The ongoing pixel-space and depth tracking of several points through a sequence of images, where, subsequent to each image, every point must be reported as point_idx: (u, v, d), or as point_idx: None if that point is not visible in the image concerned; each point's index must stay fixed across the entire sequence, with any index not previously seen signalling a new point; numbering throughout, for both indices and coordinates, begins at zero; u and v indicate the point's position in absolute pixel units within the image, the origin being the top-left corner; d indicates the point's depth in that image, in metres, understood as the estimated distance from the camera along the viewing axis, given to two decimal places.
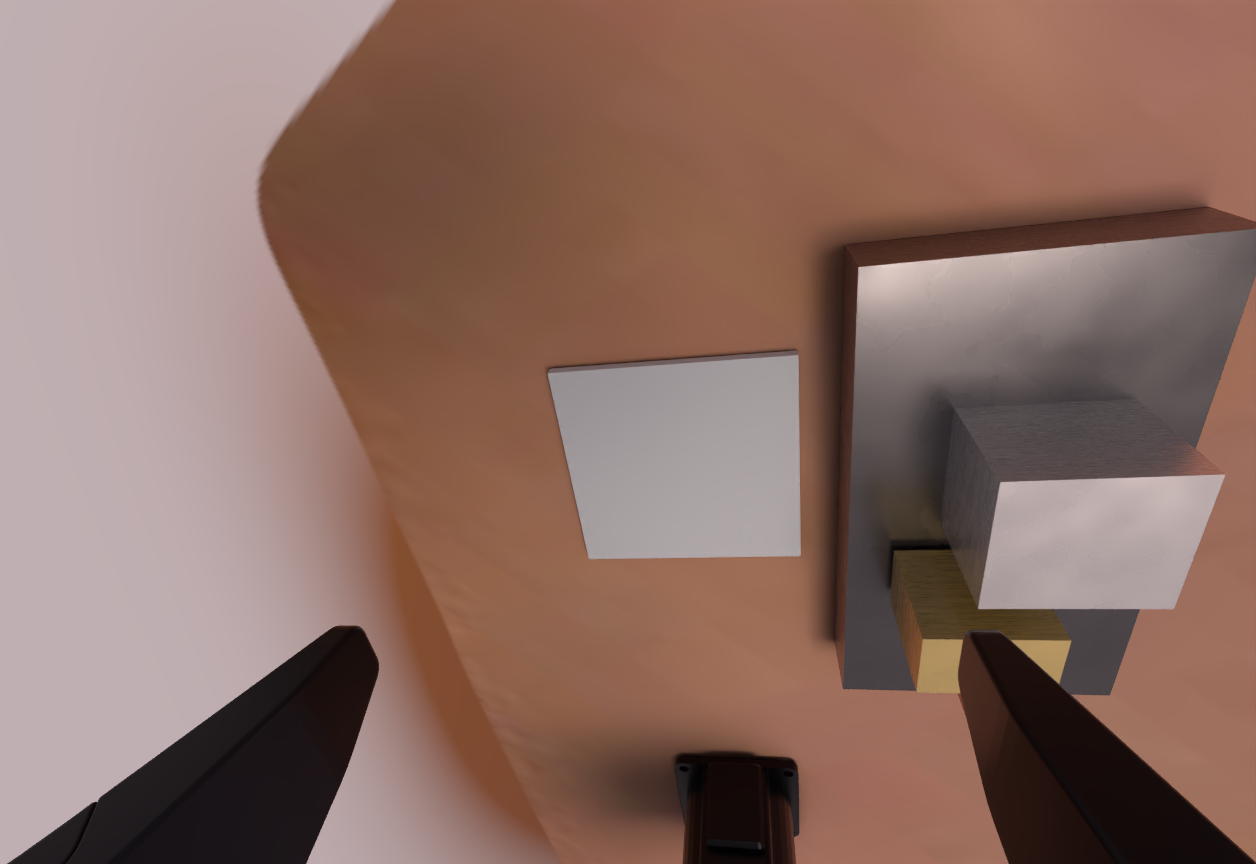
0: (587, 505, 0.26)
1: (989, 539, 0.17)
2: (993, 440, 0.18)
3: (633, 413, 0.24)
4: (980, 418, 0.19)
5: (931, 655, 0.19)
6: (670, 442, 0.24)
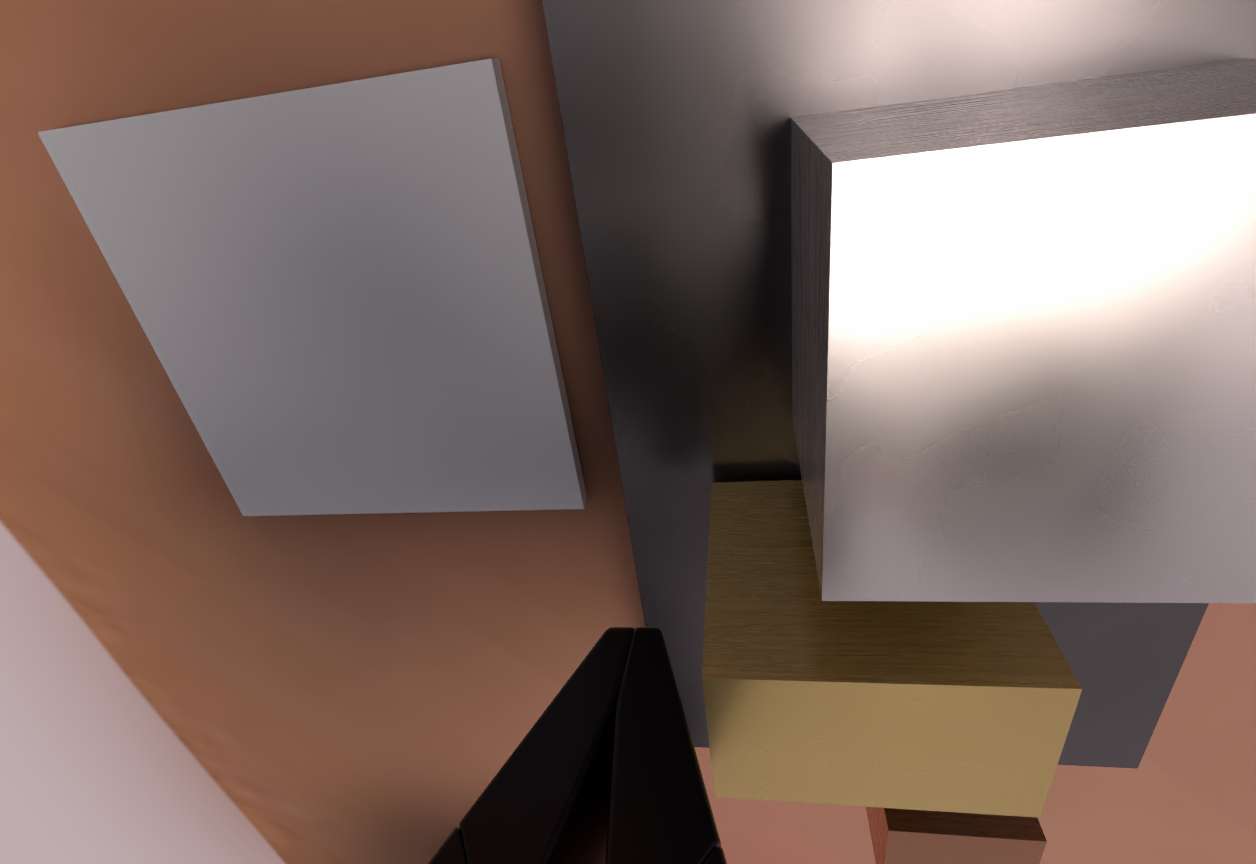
0: (206, 416, 0.15)
1: (827, 391, 0.06)
2: (856, 127, 0.06)
3: (220, 219, 0.12)
4: (842, 116, 0.07)
5: (730, 717, 0.08)
6: (304, 282, 0.13)
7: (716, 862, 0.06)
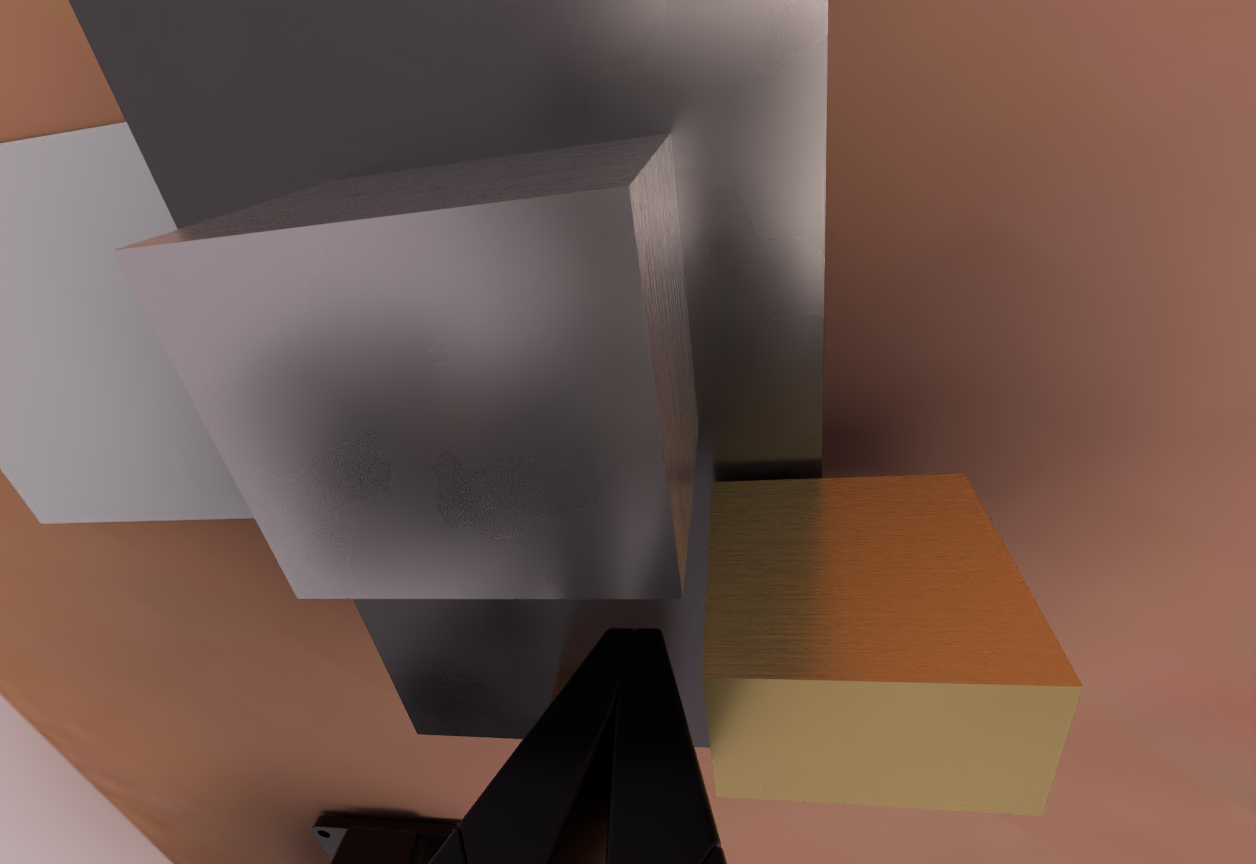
0: None
1: (207, 425, 0.07)
2: (284, 202, 0.08)
3: None
4: (343, 183, 0.09)
5: (731, 716, 0.08)
6: (42, 312, 0.14)
7: (716, 862, 0.06)
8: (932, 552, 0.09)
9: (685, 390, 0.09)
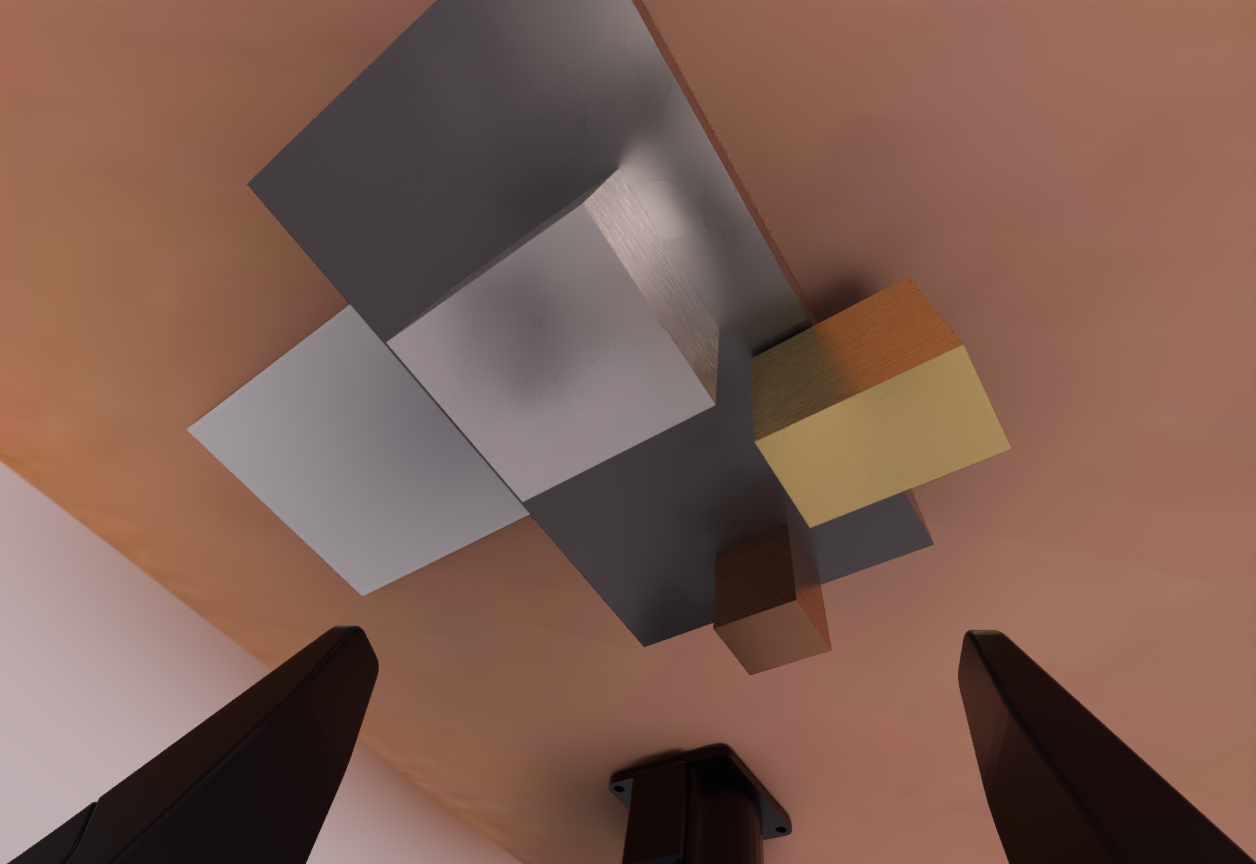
0: (317, 543, 0.25)
1: (449, 415, 0.14)
2: (441, 298, 0.14)
3: (276, 434, 0.22)
4: (464, 280, 0.15)
5: (785, 462, 0.13)
6: (327, 448, 0.22)
7: None
8: (884, 327, 0.13)
9: (686, 304, 0.14)
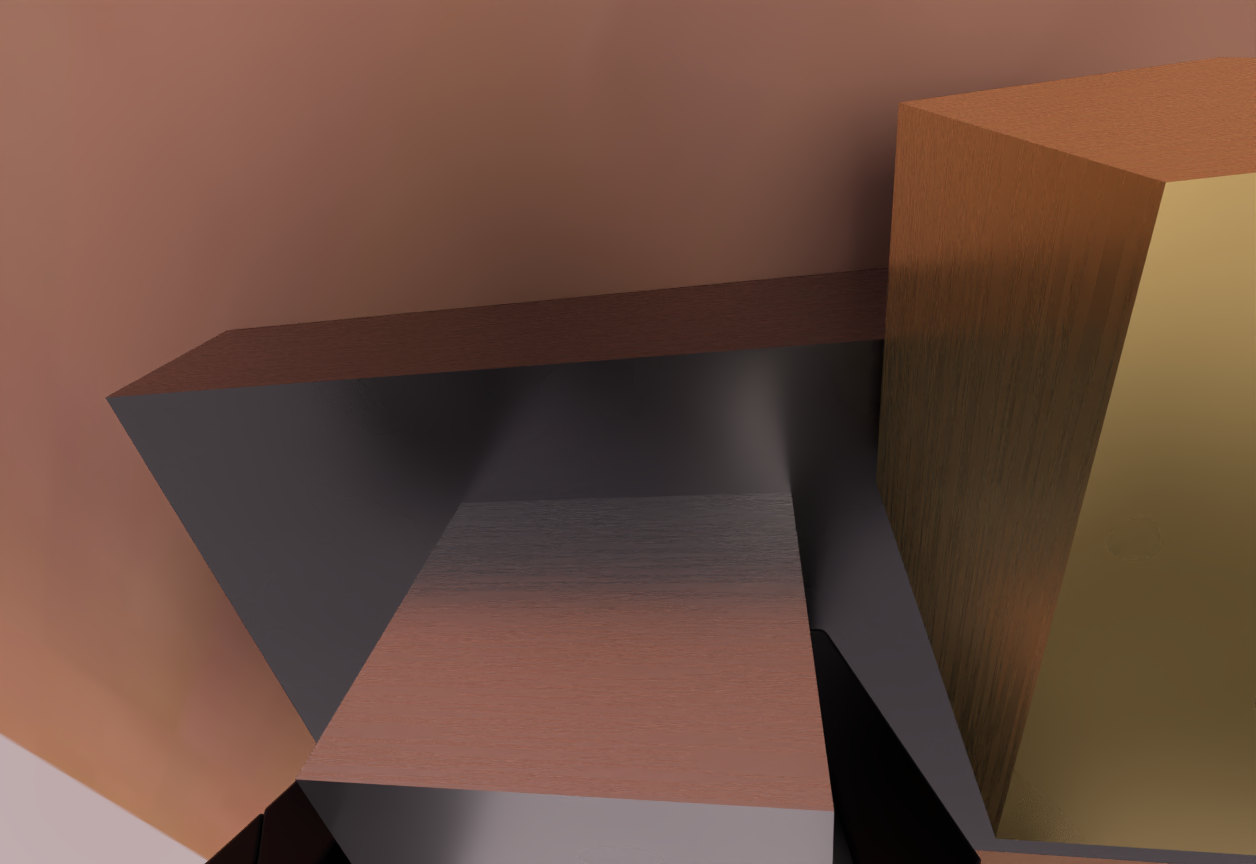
0: None
1: None
2: None
3: None
4: None
5: (1130, 818, 0.04)
6: None
7: None
8: (950, 272, 0.04)
9: (674, 571, 0.07)
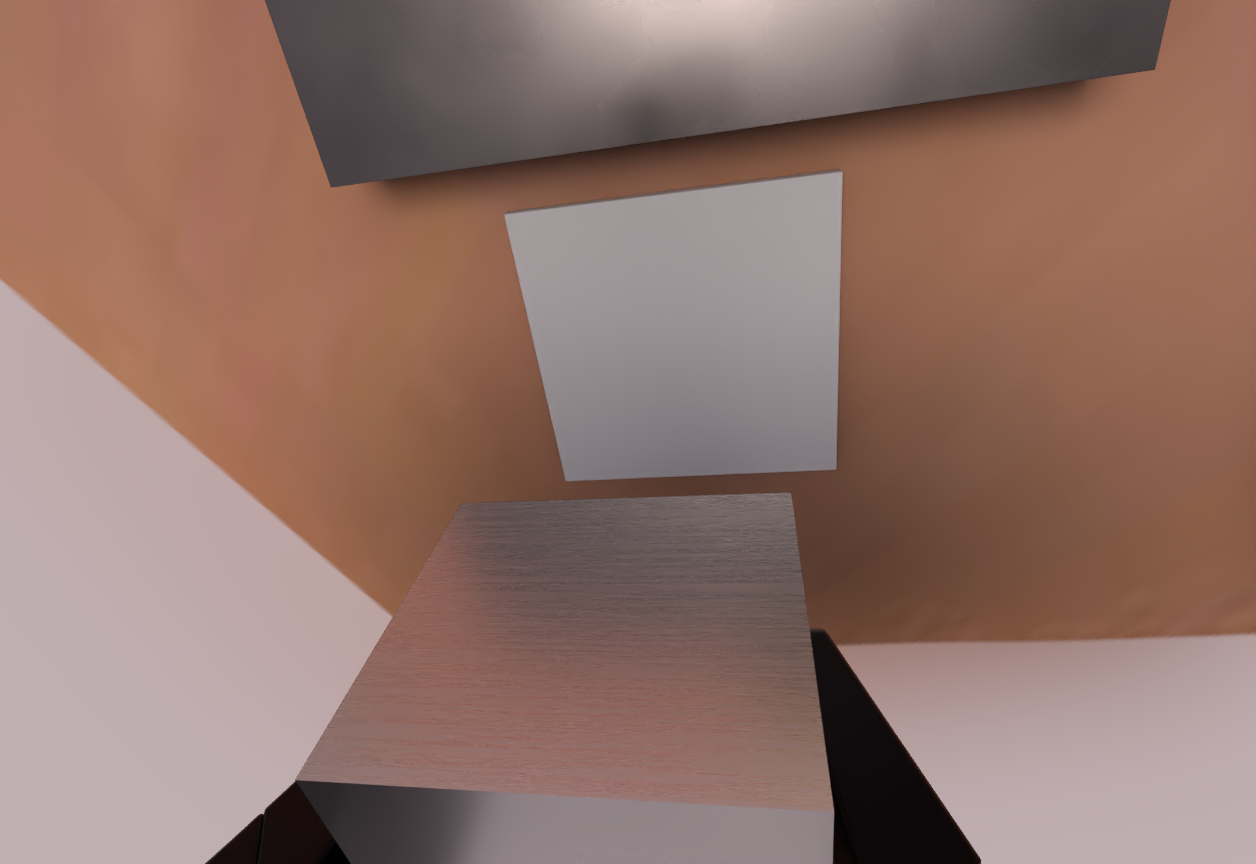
0: (743, 462, 0.21)
1: None
2: None
3: (605, 401, 0.20)
4: None
5: None
6: (641, 362, 0.19)
7: None
8: None
9: (674, 571, 0.07)
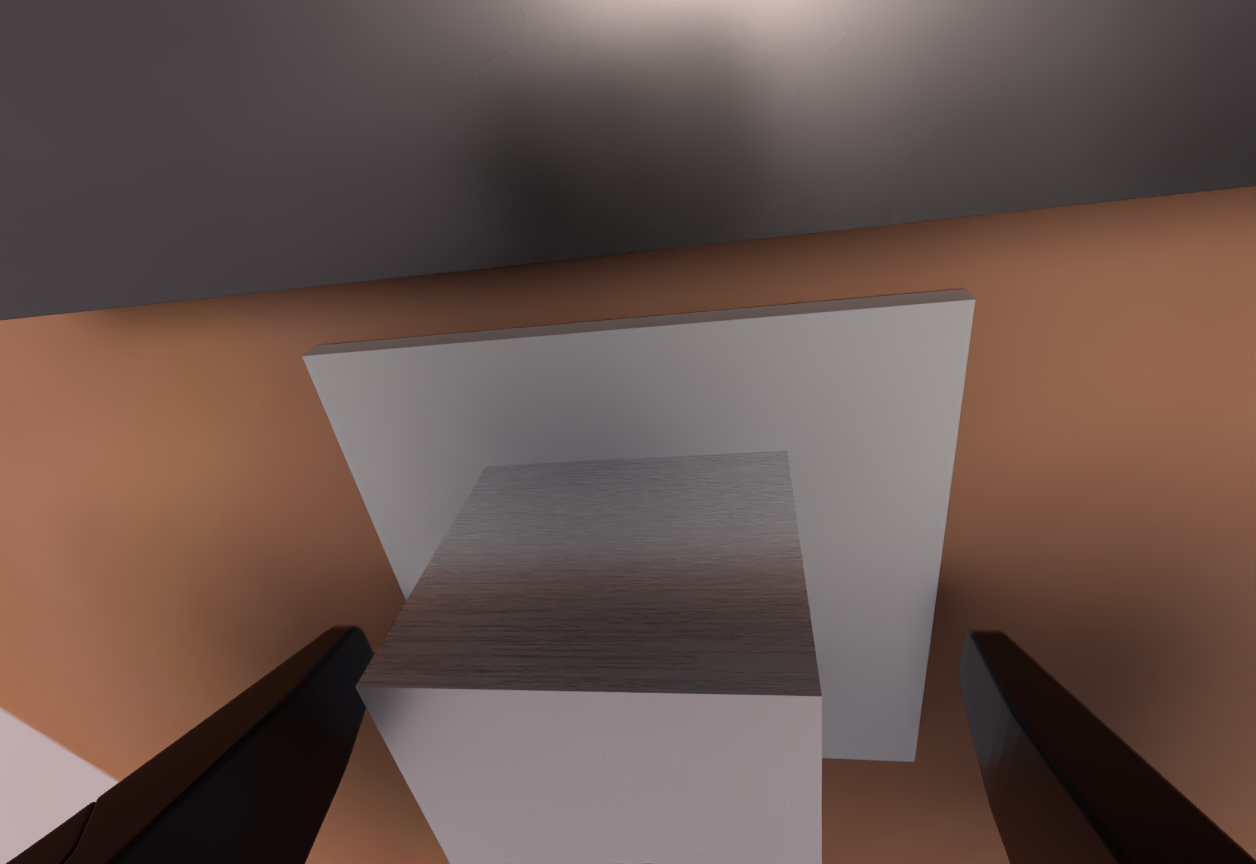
0: None
1: None
2: None
3: None
4: None
5: None
6: None
7: None
8: None
9: (682, 517, 0.08)
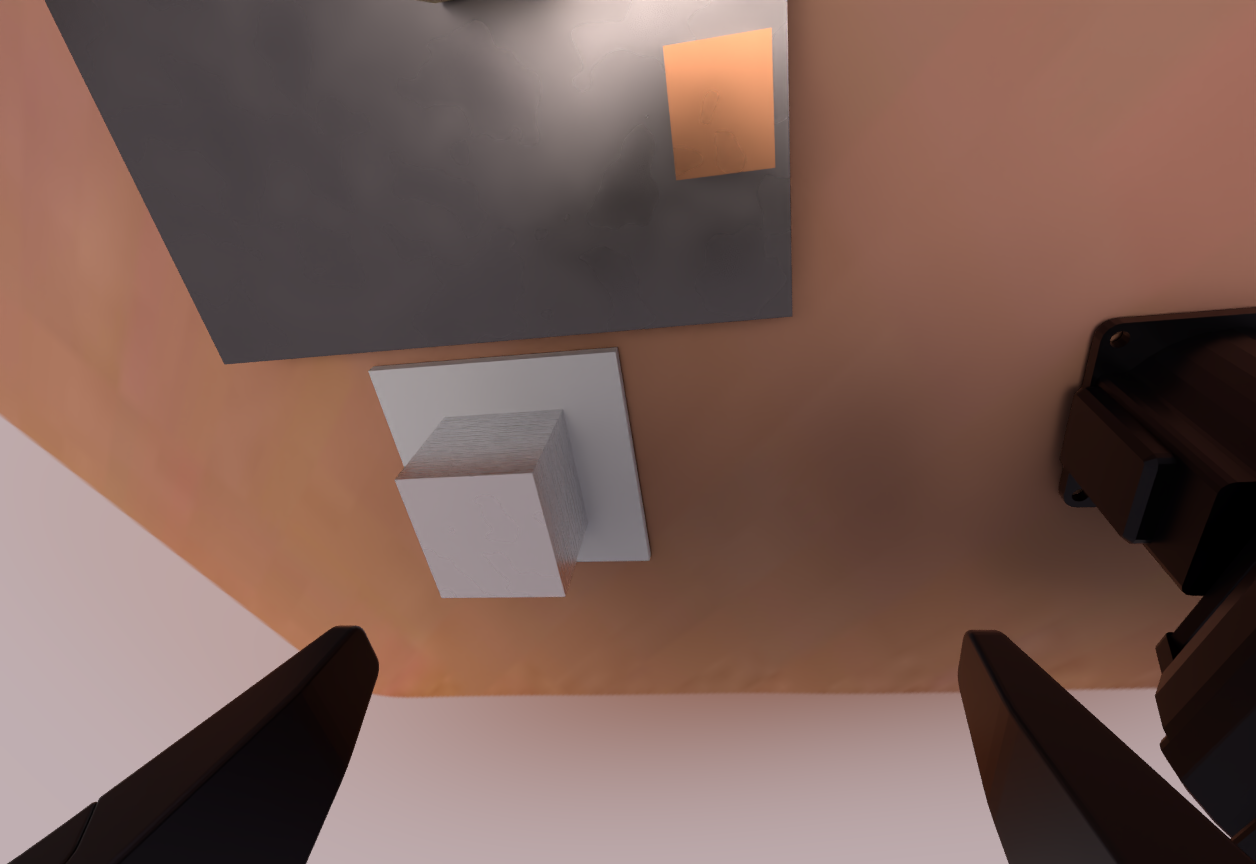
0: None
1: (493, 596, 0.22)
2: None
3: None
4: None
5: None
6: None
7: None
8: None
9: (513, 432, 0.21)
